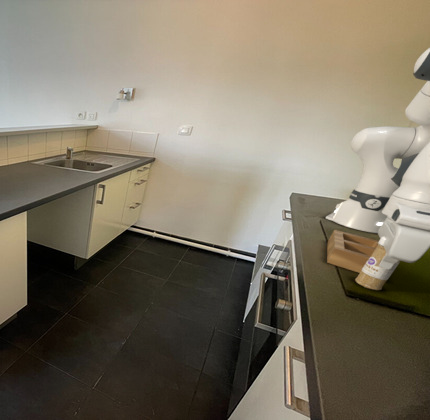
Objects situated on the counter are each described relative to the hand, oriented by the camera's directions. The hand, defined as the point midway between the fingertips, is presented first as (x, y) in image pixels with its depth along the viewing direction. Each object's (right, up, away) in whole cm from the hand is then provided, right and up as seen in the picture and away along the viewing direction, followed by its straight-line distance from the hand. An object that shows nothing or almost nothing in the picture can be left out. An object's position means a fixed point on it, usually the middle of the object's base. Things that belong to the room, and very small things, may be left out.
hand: (382, 262), depth 61 cm
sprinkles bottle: (0, -7, +3) cm, 7 cm away
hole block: (+11, -2, +15) cm, 18 cm away
